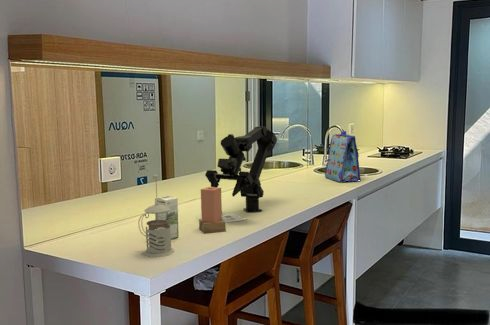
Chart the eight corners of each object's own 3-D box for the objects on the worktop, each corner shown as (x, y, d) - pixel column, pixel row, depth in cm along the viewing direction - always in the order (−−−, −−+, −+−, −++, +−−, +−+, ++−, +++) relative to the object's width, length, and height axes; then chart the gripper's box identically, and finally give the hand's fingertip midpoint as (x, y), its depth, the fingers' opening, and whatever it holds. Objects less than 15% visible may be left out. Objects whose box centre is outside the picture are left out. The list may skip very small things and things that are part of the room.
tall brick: (209, 218, 190) (208, 185, 188) (222, 219, 187) (221, 186, 186) (201, 221, 185) (200, 188, 183) (214, 222, 183) (213, 188, 181)
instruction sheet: (214, 216, 207) (214, 216, 207) (233, 214, 212) (233, 213, 212) (226, 222, 197) (226, 221, 197) (247, 219, 201) (247, 218, 201)
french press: (164, 258, 154) (161, 177, 151) (132, 254, 158) (128, 176, 155) (180, 249, 163) (177, 172, 160) (149, 246, 167) (145, 171, 164)
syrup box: (168, 235, 181) (166, 195, 179) (179, 237, 177) (177, 197, 175) (155, 238, 176) (153, 197, 174) (167, 241, 172) (165, 199, 171)
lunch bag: (361, 181, 287) (361, 131, 284) (339, 183, 284) (339, 132, 280) (344, 176, 308) (344, 129, 305) (323, 178, 305) (323, 130, 301)
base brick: (199, 228, 189) (198, 219, 189) (219, 226, 192) (219, 217, 191) (204, 233, 182) (203, 224, 181) (225, 231, 184) (225, 221, 184)
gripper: (206, 150, 200) (192, 181, 191) (248, 150, 191) (236, 184, 183) (216, 166, 208) (204, 198, 199) (257, 168, 199) (246, 201, 191)
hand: (222, 195), depth 193 cm, fingers open, 9 cm apart
